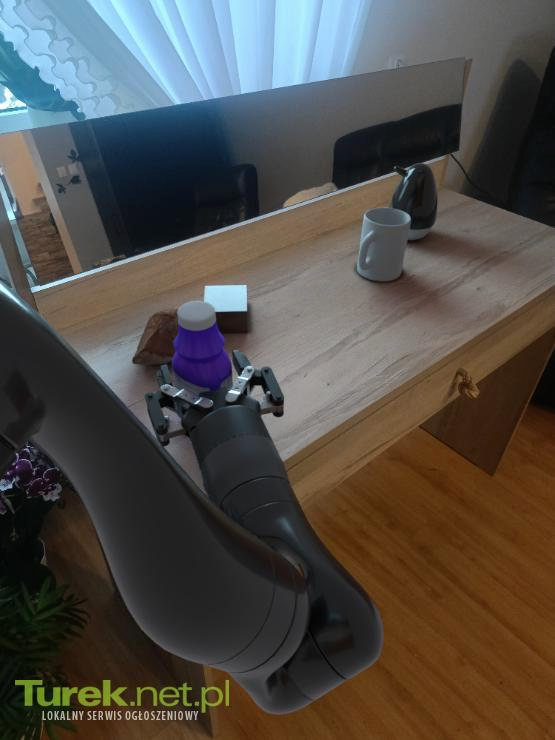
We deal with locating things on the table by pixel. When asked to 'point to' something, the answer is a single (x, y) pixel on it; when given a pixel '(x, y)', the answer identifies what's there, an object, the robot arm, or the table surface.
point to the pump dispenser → (417, 198)
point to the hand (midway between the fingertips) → (200, 363)
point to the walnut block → (229, 306)
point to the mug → (383, 243)
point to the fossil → (158, 339)
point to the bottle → (200, 351)
